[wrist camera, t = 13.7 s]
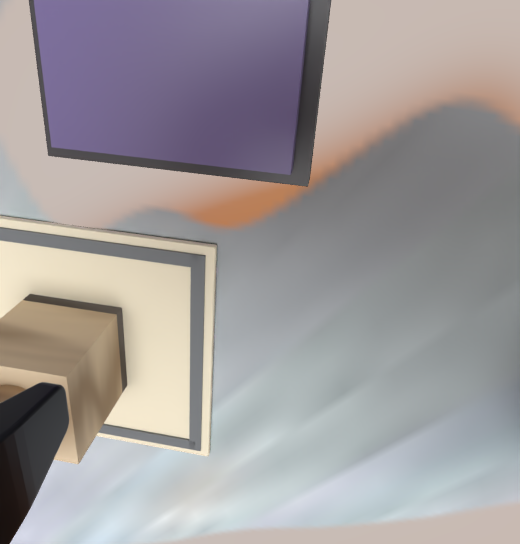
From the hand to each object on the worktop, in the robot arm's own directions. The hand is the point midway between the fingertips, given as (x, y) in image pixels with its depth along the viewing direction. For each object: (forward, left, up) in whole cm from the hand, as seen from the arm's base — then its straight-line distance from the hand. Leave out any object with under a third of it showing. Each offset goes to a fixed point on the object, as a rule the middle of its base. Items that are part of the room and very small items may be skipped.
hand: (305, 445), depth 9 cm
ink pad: (+6, -5, -12) cm, 14 cm away
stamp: (+11, +8, -12) cm, 18 cm away
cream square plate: (+11, +8, -12) cm, 18 cm away
